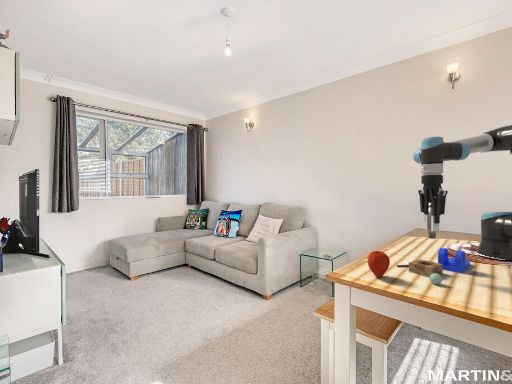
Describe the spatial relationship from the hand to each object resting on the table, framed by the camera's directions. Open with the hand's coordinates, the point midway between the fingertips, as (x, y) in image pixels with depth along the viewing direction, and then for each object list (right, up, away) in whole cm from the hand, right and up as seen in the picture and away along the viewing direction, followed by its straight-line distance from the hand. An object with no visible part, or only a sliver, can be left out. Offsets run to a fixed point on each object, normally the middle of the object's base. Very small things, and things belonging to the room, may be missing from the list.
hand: (432, 230), depth 107 cm
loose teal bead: (-5, -19, -10) cm, 22 cm away
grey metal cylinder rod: (0, -3, 0) cm, 3 cm away
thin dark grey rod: (-2, -18, +11) cm, 22 cm away
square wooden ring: (-1, -19, +3) cm, 19 cm away
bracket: (+17, -18, +10) cm, 27 cm away
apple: (-23, -20, -1) cm, 30 cm away
